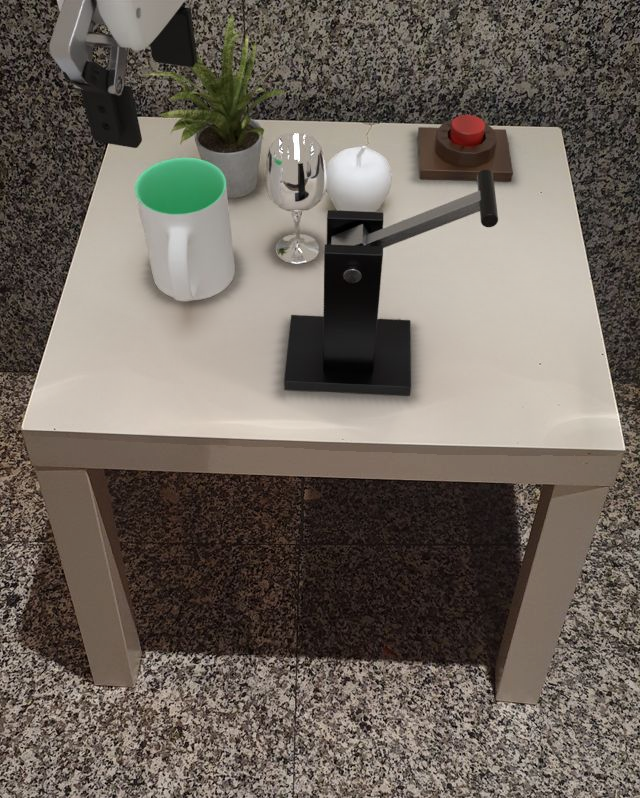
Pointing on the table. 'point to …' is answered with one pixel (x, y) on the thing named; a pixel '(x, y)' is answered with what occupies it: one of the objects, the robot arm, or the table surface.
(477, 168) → the button block
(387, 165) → the plain white apple
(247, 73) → the house plant
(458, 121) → the button
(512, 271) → the table surface
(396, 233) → the lever
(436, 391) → the table surface
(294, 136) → the wineglass
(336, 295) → the bracket
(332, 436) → the table surface
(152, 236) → the mug
